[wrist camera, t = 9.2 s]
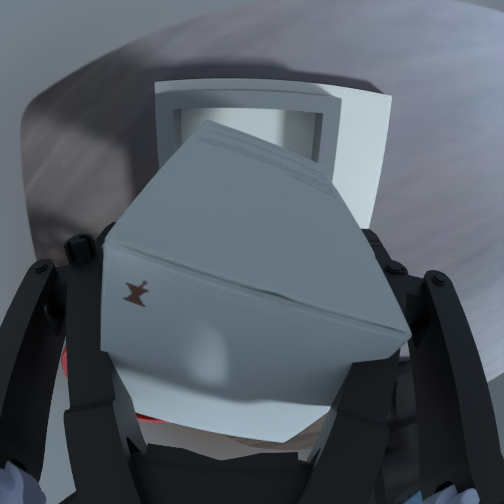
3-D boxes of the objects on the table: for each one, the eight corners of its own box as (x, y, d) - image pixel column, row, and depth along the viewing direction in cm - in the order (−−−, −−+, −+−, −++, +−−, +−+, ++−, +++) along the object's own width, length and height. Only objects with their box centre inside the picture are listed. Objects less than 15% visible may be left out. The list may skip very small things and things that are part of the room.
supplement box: (168, 224, 19) (93, 402, 9) (206, 115, 15) (96, 228, 5) (273, 262, 21) (283, 447, 10) (327, 165, 17) (423, 336, 6)
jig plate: (359, 240, 28) (371, 264, 25) (170, 233, 28) (159, 257, 25) (384, 94, 21) (406, 99, 17) (160, 81, 20) (143, 83, 17)
